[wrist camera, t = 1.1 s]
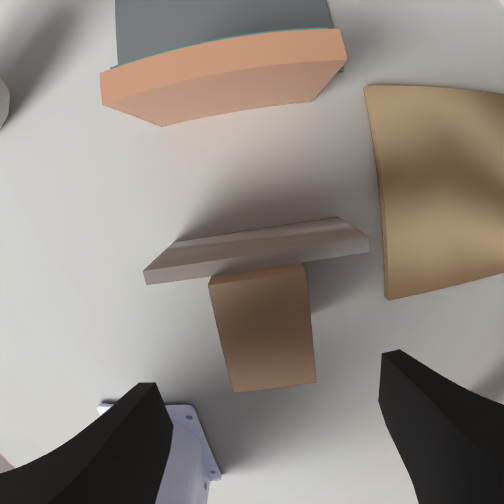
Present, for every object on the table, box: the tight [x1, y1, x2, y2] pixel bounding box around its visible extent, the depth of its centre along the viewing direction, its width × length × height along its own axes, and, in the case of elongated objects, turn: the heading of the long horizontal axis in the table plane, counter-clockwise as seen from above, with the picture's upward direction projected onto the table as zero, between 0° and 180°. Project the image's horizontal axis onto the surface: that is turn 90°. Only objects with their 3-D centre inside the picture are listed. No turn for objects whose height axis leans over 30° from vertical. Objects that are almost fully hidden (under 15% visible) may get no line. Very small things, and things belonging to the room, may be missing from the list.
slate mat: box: [115, 0, 344, 72], centre depth 13 cm, size 10×12×1 cm
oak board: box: [364, 85, 504, 301], centre depth 16 cm, size 12×12×1 cm
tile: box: [100, 27, 348, 127], centre depth 12 cm, size 1×8×7 cm, turn 99°
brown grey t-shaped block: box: [143, 217, 370, 393], centre depth 15 cm, size 6×9×6 cm, turn 99°
